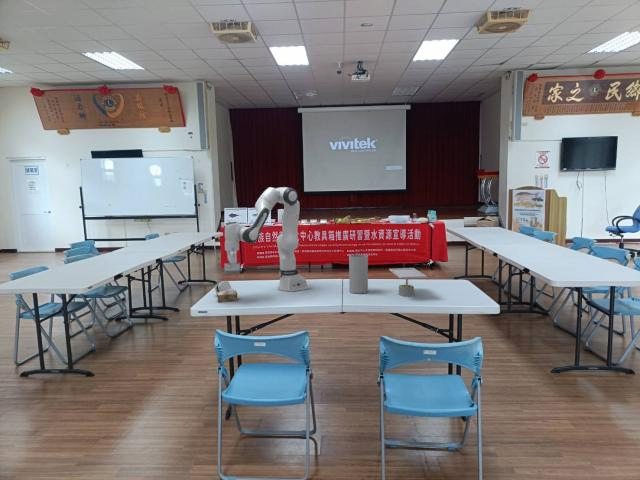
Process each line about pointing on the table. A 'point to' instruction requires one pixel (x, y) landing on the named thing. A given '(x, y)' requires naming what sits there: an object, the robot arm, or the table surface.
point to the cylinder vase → (358, 273)
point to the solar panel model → (407, 273)
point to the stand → (227, 296)
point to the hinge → (223, 287)
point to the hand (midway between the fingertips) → (232, 268)
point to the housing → (229, 270)
